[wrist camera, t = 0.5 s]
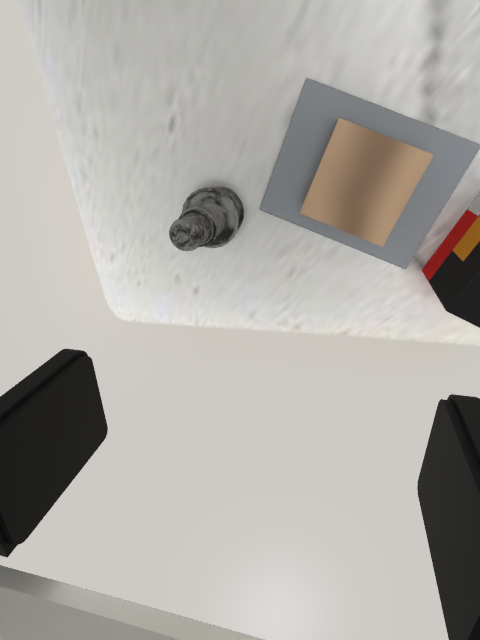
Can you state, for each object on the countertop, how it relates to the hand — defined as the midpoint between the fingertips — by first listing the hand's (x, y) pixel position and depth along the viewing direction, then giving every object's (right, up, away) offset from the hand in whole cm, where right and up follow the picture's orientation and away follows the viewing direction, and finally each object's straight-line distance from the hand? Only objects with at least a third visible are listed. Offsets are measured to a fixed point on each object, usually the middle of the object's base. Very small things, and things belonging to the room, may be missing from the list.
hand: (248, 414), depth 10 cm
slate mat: (+11, +16, +25) cm, 32 cm away
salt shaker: (-2, +14, +30) cm, 33 cm away
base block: (+11, +16, +25) cm, 31 cm away
